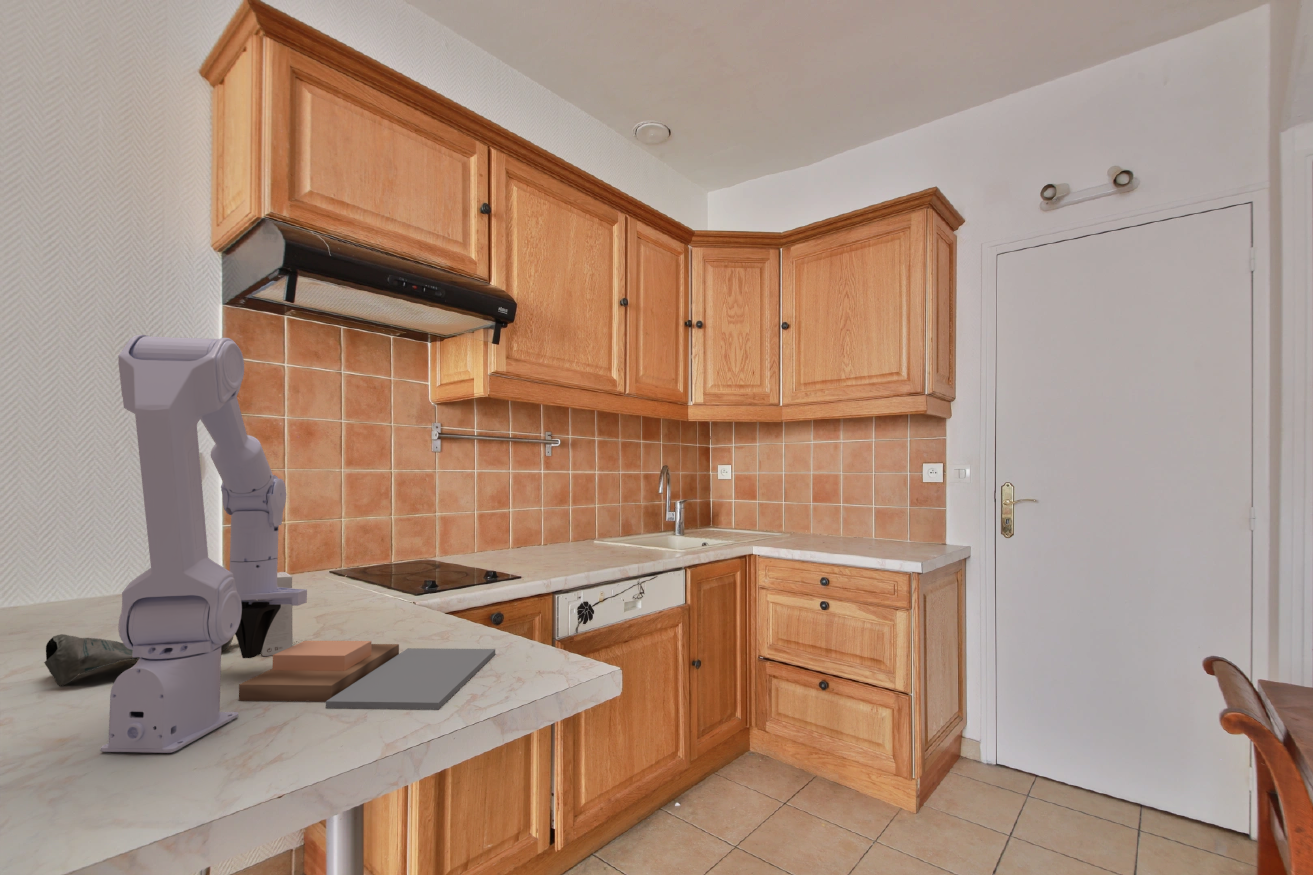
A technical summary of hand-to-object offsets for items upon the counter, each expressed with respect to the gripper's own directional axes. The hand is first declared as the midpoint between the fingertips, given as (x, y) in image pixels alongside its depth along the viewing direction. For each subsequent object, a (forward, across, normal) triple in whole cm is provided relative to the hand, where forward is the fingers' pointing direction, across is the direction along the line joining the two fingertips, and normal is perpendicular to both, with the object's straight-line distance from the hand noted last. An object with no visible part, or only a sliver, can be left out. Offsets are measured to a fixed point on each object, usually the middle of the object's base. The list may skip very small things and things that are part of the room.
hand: (251, 656), depth 86 cm
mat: (+3, -24, 0) cm, 25 cm away
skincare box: (+3, +5, -12) cm, 13 cm away
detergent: (+3, +19, -5) cm, 20 cm away
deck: (+3, -11, 0) cm, 11 cm away
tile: (+1, -10, 0) cm, 11 cm away
